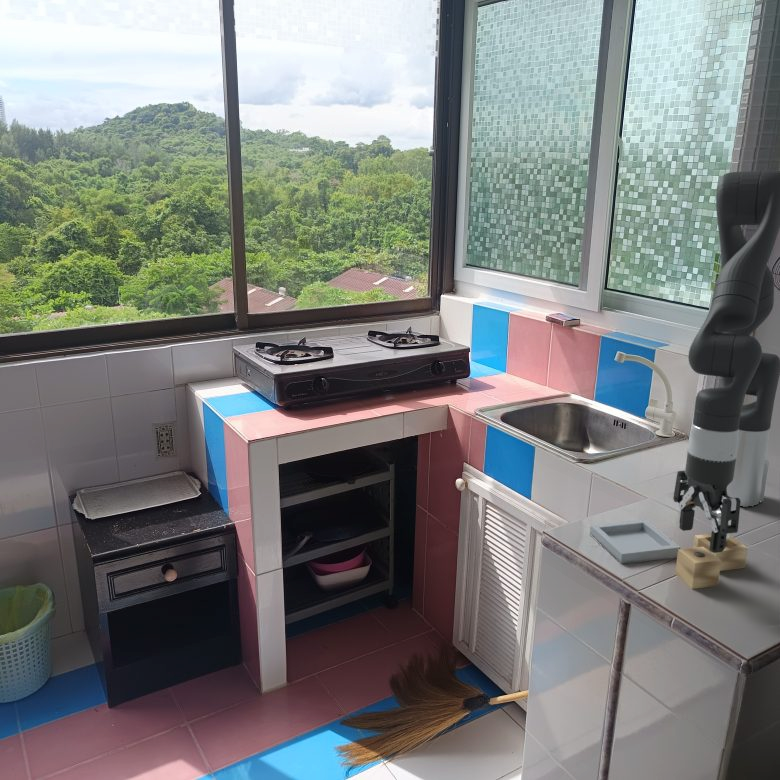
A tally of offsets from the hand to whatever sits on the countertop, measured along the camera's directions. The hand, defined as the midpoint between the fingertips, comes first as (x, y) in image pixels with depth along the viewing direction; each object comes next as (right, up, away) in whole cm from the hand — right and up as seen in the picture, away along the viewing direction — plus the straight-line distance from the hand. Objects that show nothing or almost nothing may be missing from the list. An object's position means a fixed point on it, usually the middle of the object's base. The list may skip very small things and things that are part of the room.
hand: (700, 540), depth 127 cm
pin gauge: (+7, -6, +9) cm, 12 cm away
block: (0, -8, +2) cm, 8 cm away
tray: (-7, -4, +15) cm, 17 cm away
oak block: (+7, -6, +9) cm, 12 cm away
